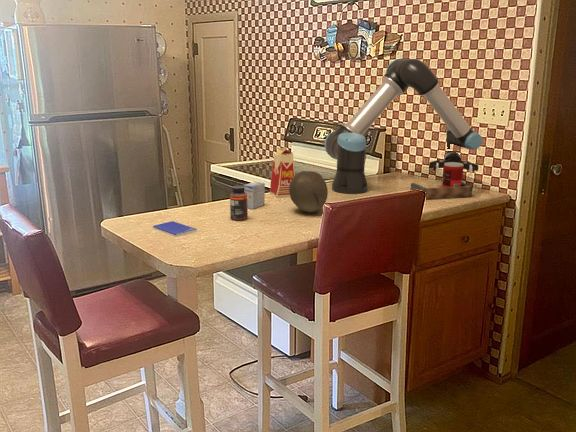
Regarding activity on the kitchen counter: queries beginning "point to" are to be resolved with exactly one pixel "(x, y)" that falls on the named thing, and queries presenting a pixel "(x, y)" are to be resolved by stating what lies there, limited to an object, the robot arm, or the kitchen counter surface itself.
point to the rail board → (445, 191)
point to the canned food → (452, 174)
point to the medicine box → (255, 194)
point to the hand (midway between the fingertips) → (454, 169)
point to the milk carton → (282, 173)
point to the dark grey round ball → (308, 191)
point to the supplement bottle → (238, 204)
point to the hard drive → (174, 228)
